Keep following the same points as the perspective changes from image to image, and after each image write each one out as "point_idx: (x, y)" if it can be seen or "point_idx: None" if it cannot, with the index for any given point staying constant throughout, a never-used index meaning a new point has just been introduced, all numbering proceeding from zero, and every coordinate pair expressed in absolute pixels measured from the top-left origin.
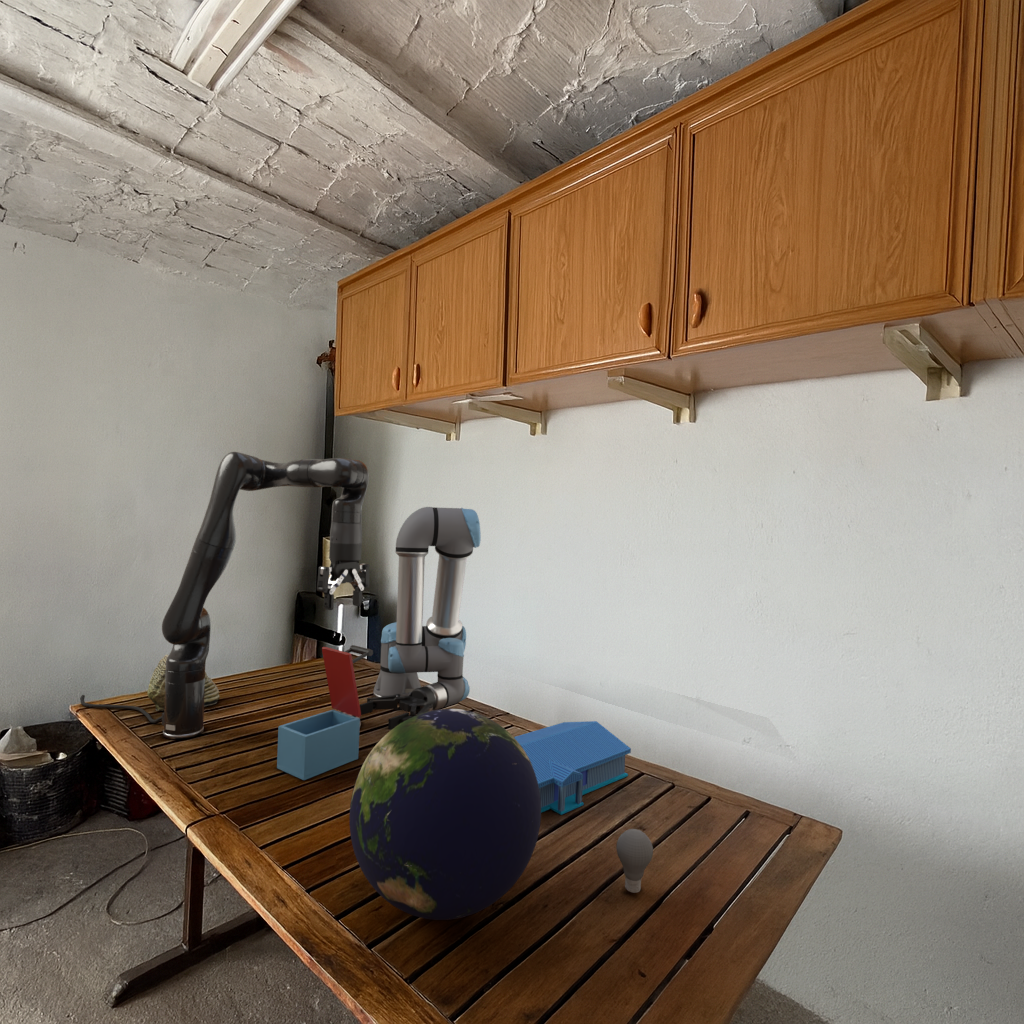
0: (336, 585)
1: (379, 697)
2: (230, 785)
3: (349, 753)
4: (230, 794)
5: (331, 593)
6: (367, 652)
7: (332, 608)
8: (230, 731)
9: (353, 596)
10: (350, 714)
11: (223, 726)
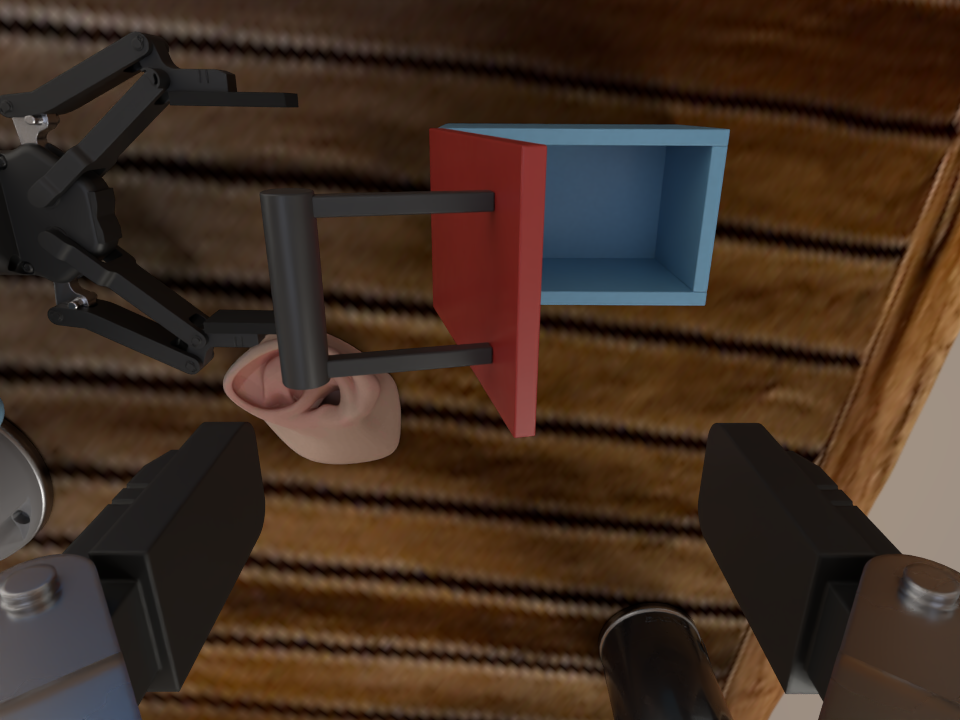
0: (921, 688)
1: (147, 345)
2: (814, 268)
3: (489, 124)
4: (856, 217)
5: (907, 569)
6: (311, 198)
7: (733, 425)
8: (561, 575)
9: (220, 596)
10: (258, 399)
11: (550, 615)
